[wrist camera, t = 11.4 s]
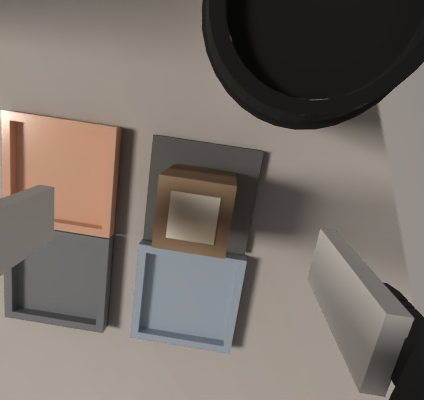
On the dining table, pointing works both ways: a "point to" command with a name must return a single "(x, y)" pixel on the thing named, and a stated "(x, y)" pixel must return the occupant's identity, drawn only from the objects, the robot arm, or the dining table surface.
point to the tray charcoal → (63, 283)
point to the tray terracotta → (64, 167)
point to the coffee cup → (312, 55)
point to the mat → (213, 159)
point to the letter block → (194, 210)
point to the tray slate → (186, 298)
